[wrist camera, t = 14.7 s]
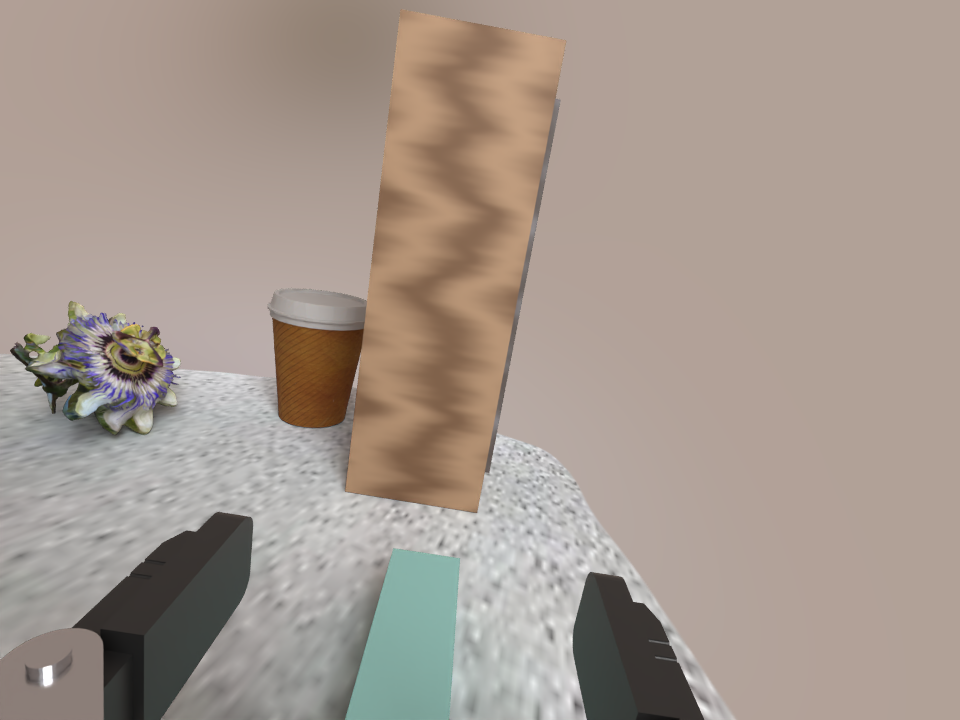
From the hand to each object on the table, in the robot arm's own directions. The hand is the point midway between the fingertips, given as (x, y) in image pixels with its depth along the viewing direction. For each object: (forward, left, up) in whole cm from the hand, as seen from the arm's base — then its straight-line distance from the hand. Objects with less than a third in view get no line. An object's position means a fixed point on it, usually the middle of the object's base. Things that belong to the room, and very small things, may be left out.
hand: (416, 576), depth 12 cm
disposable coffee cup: (-14, +36, -12) cm, 41 cm away
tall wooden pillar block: (-2, +29, -12) cm, 32 cm away
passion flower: (-29, +28, -12) cm, 42 cm away
